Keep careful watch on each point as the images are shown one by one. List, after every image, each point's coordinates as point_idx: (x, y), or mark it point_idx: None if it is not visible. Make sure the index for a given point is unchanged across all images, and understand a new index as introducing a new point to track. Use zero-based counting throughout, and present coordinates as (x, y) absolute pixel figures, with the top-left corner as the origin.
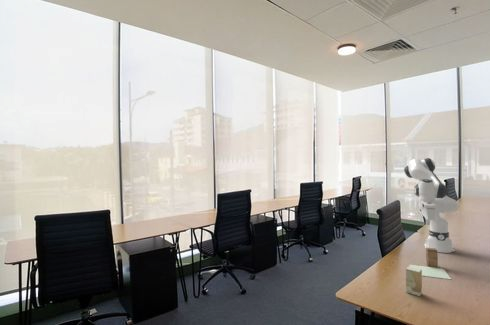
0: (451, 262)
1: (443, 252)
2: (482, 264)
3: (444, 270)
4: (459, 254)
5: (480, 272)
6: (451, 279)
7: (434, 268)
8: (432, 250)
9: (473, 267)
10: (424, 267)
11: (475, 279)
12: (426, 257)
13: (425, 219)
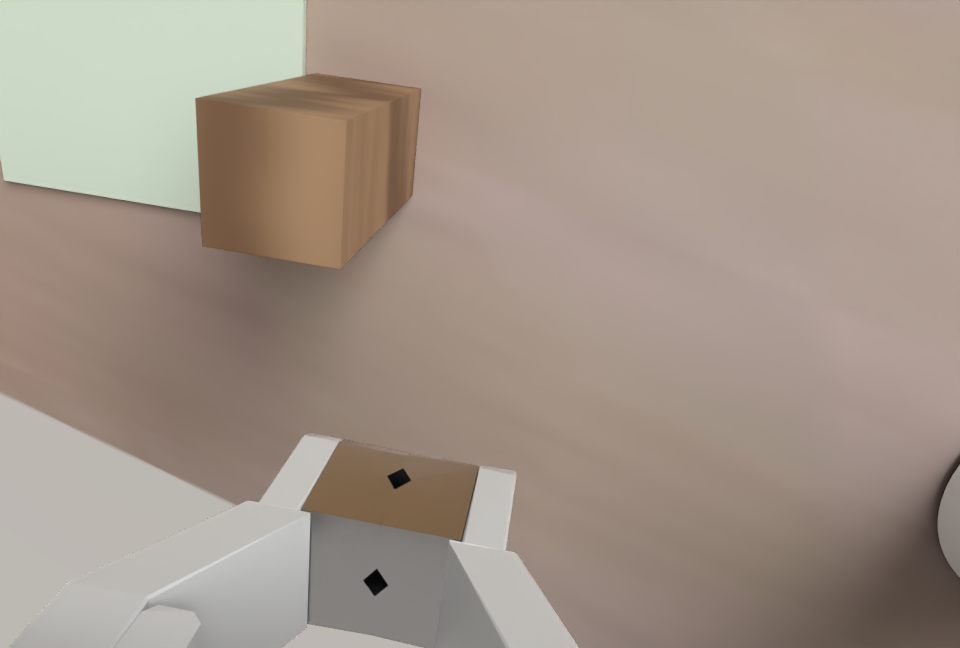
0: (568, 415)
1: (945, 496)
2: None
3: None
4: (883, 622)
5: None
6: (9, 179)
7: None
8: (199, 172)
9: None
10: (257, 5)
11: (124, 395)
12: (379, 97)
13: (495, 635)
